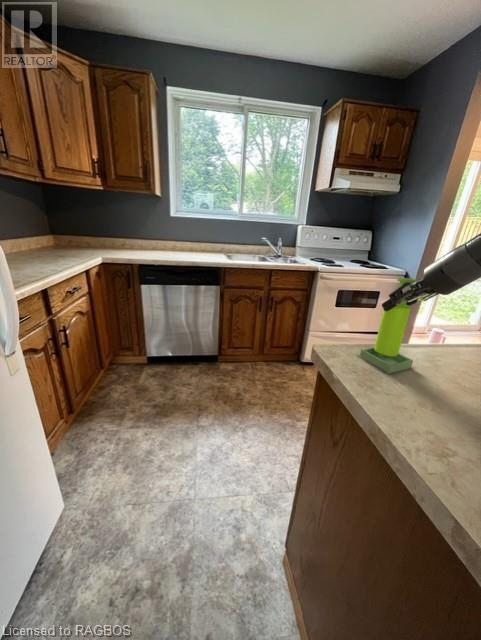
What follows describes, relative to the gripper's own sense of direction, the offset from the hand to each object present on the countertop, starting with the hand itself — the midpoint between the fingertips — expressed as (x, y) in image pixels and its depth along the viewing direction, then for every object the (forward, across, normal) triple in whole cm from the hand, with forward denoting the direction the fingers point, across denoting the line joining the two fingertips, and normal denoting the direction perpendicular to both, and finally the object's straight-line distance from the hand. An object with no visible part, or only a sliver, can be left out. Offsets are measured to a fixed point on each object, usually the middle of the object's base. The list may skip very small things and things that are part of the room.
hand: (392, 306), depth 70 cm
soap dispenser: (+8, 0, +10) cm, 13 cm away
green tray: (+10, 0, +12) cm, 16 cm away
